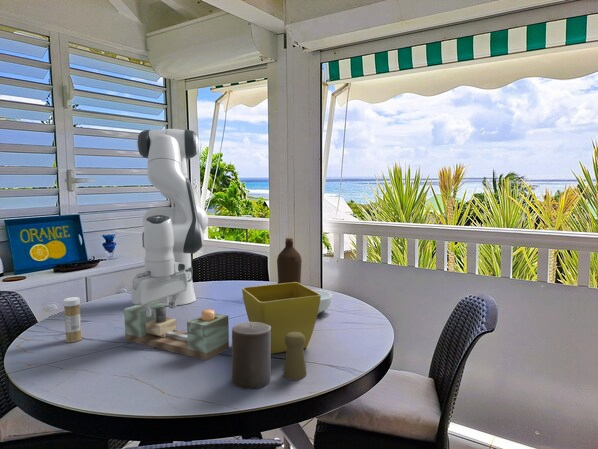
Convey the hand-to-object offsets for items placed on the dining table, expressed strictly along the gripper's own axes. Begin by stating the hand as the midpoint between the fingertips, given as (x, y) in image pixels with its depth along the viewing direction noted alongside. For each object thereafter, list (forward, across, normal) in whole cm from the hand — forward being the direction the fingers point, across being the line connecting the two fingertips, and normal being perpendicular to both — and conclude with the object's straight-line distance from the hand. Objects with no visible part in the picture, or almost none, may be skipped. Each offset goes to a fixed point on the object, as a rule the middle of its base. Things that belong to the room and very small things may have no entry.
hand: (161, 311), depth 137 cm
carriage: (+7, 0, 0) cm, 7 cm away
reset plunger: (+1, 0, -19) cm, 19 cm away
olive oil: (+10, +66, -9) cm, 67 cm away
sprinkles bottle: (+10, -13, +24) cm, 29 cm away
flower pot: (+9, +14, -34) cm, 39 cm away
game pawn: (+9, -2, -48) cm, 49 cm away
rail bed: (+9, 0, -6) cm, 11 cm away
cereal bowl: (+10, +48, -28) cm, 56 cm away
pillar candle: (+9, -10, -40) cm, 43 cm away
